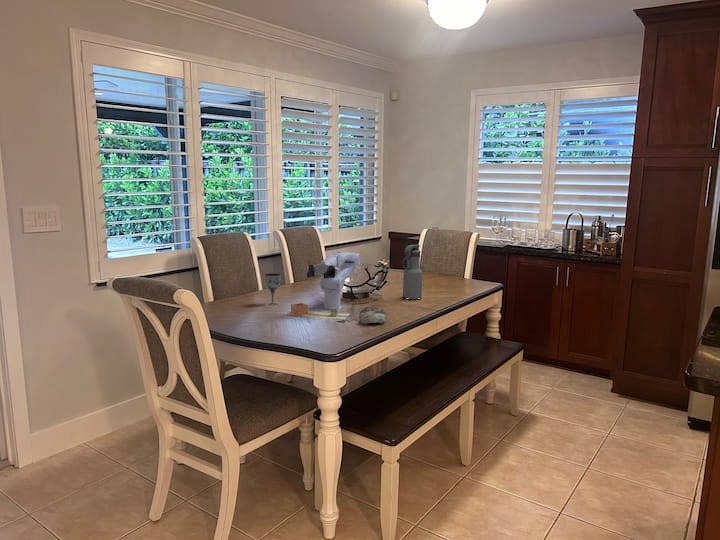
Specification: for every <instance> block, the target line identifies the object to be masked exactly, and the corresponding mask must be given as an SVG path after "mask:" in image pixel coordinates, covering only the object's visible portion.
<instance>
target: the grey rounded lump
mask: <svg viewBox="0 0 720 540" xmlns="http://www.w3.org/2000/svg"><path fill="white" fill-rule="evenodd" d="M386 319H387V311H386V310H385V309H384V308H382V307H378V306H374V305H372V306H370V305H368V306H365V307H364V308H363V309H362V310H361V311H359V314H358V320H359V322H360V323H361V324H362V325H363V324H364V325H365V324H371V323H377V324H378V323H379V324H383V322H384V323H386Z"/></svg>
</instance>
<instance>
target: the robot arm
mask: <svg viewBox="0 0 720 540" xmlns="http://www.w3.org/2000/svg"><path fill="white" fill-rule="evenodd" d="M361 258H362V257H361V254H360V253H359V252H346V251H337V252H334V253H333V254H331V253H329V254H327V253H326V256H325V258H324V259H323V260H320V263H318V264H309V265H308V266H307V267H306V277H307V278H308V279H309V278H314V277H315V276H316V275H318V276H320V277H321V279H320V281H319V282H320V285H319V286H320V289H321V290H322V292H323V293H324V294H323V296H324V297H323V308H324V309H326V310H331V307H338V310H342V309H343V306H341V295H342V294H341V293H340V292H341V291H342V290H343V289H344V286H345V280H347V279H348V278H349V277H350V276H351V275H352V274H353V272H354V270H355V269H357V268H358V267H360V264H361ZM315 274H316V275H315Z"/></svg>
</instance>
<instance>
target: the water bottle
mask: <svg viewBox="0 0 720 540" xmlns="http://www.w3.org/2000/svg"><path fill="white" fill-rule="evenodd" d="M420 247H421V245H420V244H409V245H406V247H405V249H404V251H403V254H404V255H405V256H404V258H403V259H402V268H404V269H403V281H402V284H403V285H402V298H403V297H405V298H409V299H418V298H421V299H422V296H423V292H422V291H423V270H422V269H421V268H420V265H421V264H420V262H421V250H420ZM405 261H406V266H405Z"/></svg>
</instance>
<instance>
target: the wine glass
mask: <svg viewBox="0 0 720 540" xmlns="http://www.w3.org/2000/svg"><path fill="white" fill-rule="evenodd" d="M281 275H282V274H281V273H279V272H267V273H264V274H263V279H264V280H263V282H264V284H265V287H266V289H268V290H269V291H270V295H271V302H270V303H266V304H265V306H266V305H268V306H267V307H270V306H279V304H280V303H276V302H275V300H274V296H275V293H276V291H277V290H278V288H279V287H280V285H281V281H282V279H281V278H282V276H281Z"/></svg>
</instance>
